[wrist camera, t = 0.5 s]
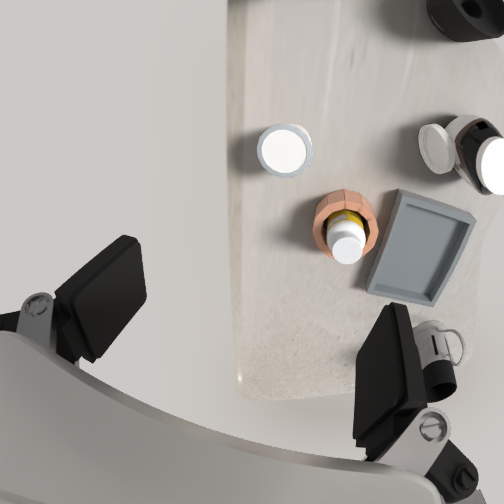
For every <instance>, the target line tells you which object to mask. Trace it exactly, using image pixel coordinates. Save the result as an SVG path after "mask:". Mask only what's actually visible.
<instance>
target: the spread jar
mask: <svg viewBox="0 0 504 504" xmlns="http://www.w3.org/2000/svg"><path fill="white" fill-rule="evenodd" d="M418 142H419V148H420V152H421V155H422V157H423V159H424V161H425V163H426V164H427V166H428V167H429V168H430V169H431V170H432V171H433V172H434V173H436V174H443V173H446V172H449V171H451V170H452V168H453V167H454V168H455V170H456V171H457V172H458V174H459V175H460V176H461V177H462V178H463V179H464V180H465V181H466V182H467V183H468V184H469V185H470V186H471V187H473V188H474V189H475V190H476V191H478V192H479V193H480V194H482V195H491V194H493V193H494V194H497V195H504V138H503V136H502V135H501V134H500V132H499V131H498V130H497V129H496V128H495V126H494V125H493V124H492V123H490V122H489V121H488V120H486V119H484V118H482V117H479V116H475V115H470V114H466V115H462V116H460V117H458V118H456V119H454V120H453V121H452V122H450V123H449V124H448V125H447V127H446V128H445V129H443V128H442V127H441V126H440V125H437V124H429V125H425V126H423V127H422V128H421V129H420V131H419V136H418Z"/></svg>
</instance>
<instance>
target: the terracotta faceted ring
mask: <svg viewBox="0 0 504 504" xmlns="http://www.w3.org/2000/svg"><path fill="white" fill-rule="evenodd" d="M342 209H349V210H353V211H357V212H359V213H360V214H361V215H362V216H363V217H364V218H365V219H366V220H367V221H366V224H365V228H364V232H365V238H366V241H365V245H364V248H363V250H362V255H361V257H363V256H364V255H365V254H366V253H367V252H369V251H370V250H371V249H372V248H373V247H374V245H375V242H376V239H377V236H378V233H379V231H378V226H377V222H376V218H375V215H374V212H373V208H372V205H371V204H370V203H369V202H368V201H367V200H366V199H365V198H364V197H363V196H362V195H361V194H359V193H357V192H353V191H349V190H345V189H344V190H339V191H336V192H332V193H329V194H327V195H326V196H325V197H324V198H323V199H322V200H321V201H320V202H319V203H318V204H317V208H316V212H315V217H314V223H313V229H312V234H313V237H314V240H315V242H316V245H317V247H318V248H319V249H320V250H321V251H322V252H323V253H325V254H326V255H327V256H328V257H330V258H333V259H335V258H334V257H333V255H332V252H331V250H330V249H329V247H328V244H327V231H326V230H325V227H324V224H323V221H324V220H325V219H326V218H327V217H328V216H329V215H330V214H331V213H332V212H335V211H338V210H342ZM361 257H360V258H361Z"/></svg>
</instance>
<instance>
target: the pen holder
mask: <svg viewBox="0 0 504 504" xmlns="http://www.w3.org/2000/svg"><path fill="white" fill-rule="evenodd" d="M427 10H428V14H429V16H430V18H431V20H432V22H433V23H434V25H435V26H436V27H437V28H438V29H439V30H440V31H441V32H442V33H443V34H444V35H446V36H447V37H449V38H451V39H453V40H455V41H458V42H471V41H478V40H484V39H492V38H498V37H501V36H502V35H503V34H504V1H503V0H428V1H427Z"/></svg>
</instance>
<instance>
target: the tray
mask: <svg viewBox="0 0 504 504" xmlns="http://www.w3.org/2000/svg"><path fill="white" fill-rule="evenodd" d="M475 223H476V219H475V218H474V217H473V216H472V214H471V213H469V212H467V211H464V210H461V209H459V208H456V207H453V206H450V205H448V204H445V203H442V202H439V201H436V200H433V199H430V198H427V197H424V196H421V195H418V194H415V193H411V192H408V191H405V190H401V189H398V192H397V196H396V199H395V202H394V206H393V209H392V212H391V215H390V218H389V221H388V224H387V227H386V230H385V233H384V236H383V239H382V241H381V244H380V247H379V250H378V252H377V255H376V258H375V260H374V263H373V265H372V268H371V270H370V273H369V275H368V278H367V280H366V283H365V284H366V293H368V294H373V295H378V296H382V297H387V298H392V299H397V300H401V301H406V302H411V303H416V304H421V305H425V306H430V307H434V305H435V303H436V302H437V300H438V298H439V297H440V295H441V293H442V291H443V289H444V288H445V286H446V284H447V282H448V280H449V279H450V277H451V275H452V273H453V271H454V269H455V267H456V265H457V263H458V261H459V259H460V257H461V255H462V253H463V250H464V248H465V246H466V244H467V242H468V239H469V237H470V235H471V233H472V230H473V228H474V225H475Z"/></svg>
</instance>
